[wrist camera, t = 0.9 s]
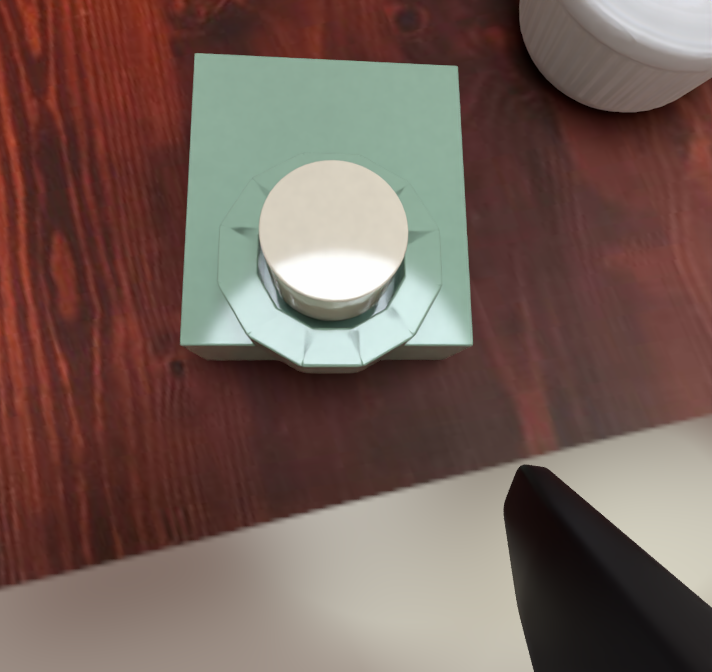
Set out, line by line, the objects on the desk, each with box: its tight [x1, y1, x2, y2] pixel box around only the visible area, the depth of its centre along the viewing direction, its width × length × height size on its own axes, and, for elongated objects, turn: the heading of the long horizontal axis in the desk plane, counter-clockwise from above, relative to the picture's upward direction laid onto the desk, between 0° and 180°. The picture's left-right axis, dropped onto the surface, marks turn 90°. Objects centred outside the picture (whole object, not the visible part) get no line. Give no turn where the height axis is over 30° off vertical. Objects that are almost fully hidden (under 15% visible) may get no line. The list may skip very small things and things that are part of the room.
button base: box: [180, 53, 473, 373], centre depth 18 cm, size 12×10×6 cm
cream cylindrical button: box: [259, 160, 408, 321], centre depth 14 cm, size 4×4×2 cm
